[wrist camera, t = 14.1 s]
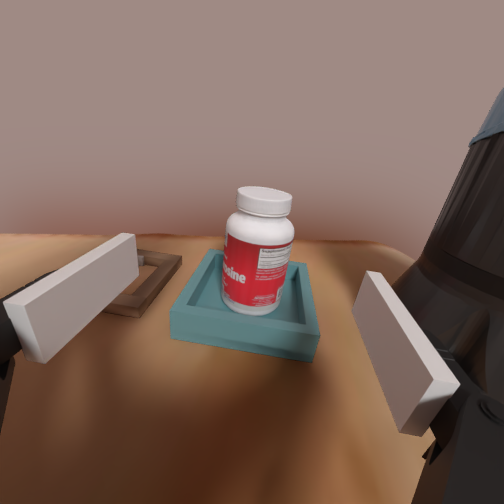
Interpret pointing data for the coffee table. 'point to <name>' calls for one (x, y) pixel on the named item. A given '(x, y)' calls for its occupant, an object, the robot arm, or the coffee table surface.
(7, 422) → the coffee table surface
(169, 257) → the bottle holder
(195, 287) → the tray
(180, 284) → the coffee table surface
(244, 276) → the pill bottle
